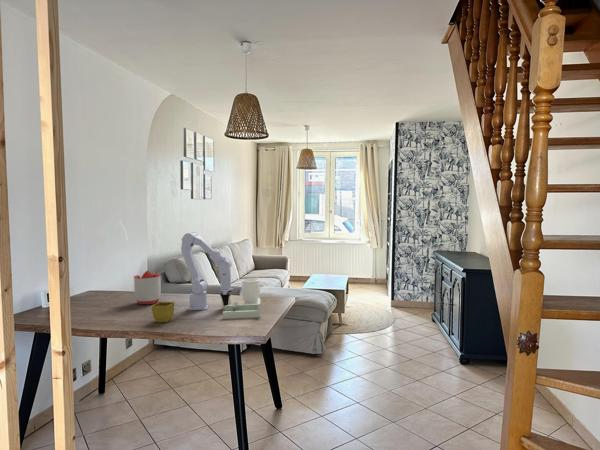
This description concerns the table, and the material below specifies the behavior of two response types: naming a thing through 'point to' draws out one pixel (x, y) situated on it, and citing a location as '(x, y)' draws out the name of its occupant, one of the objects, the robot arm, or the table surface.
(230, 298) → the spice jar
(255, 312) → the lane
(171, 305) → the flower pot
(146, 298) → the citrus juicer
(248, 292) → the jar
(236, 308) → the plate
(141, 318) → the table surface
